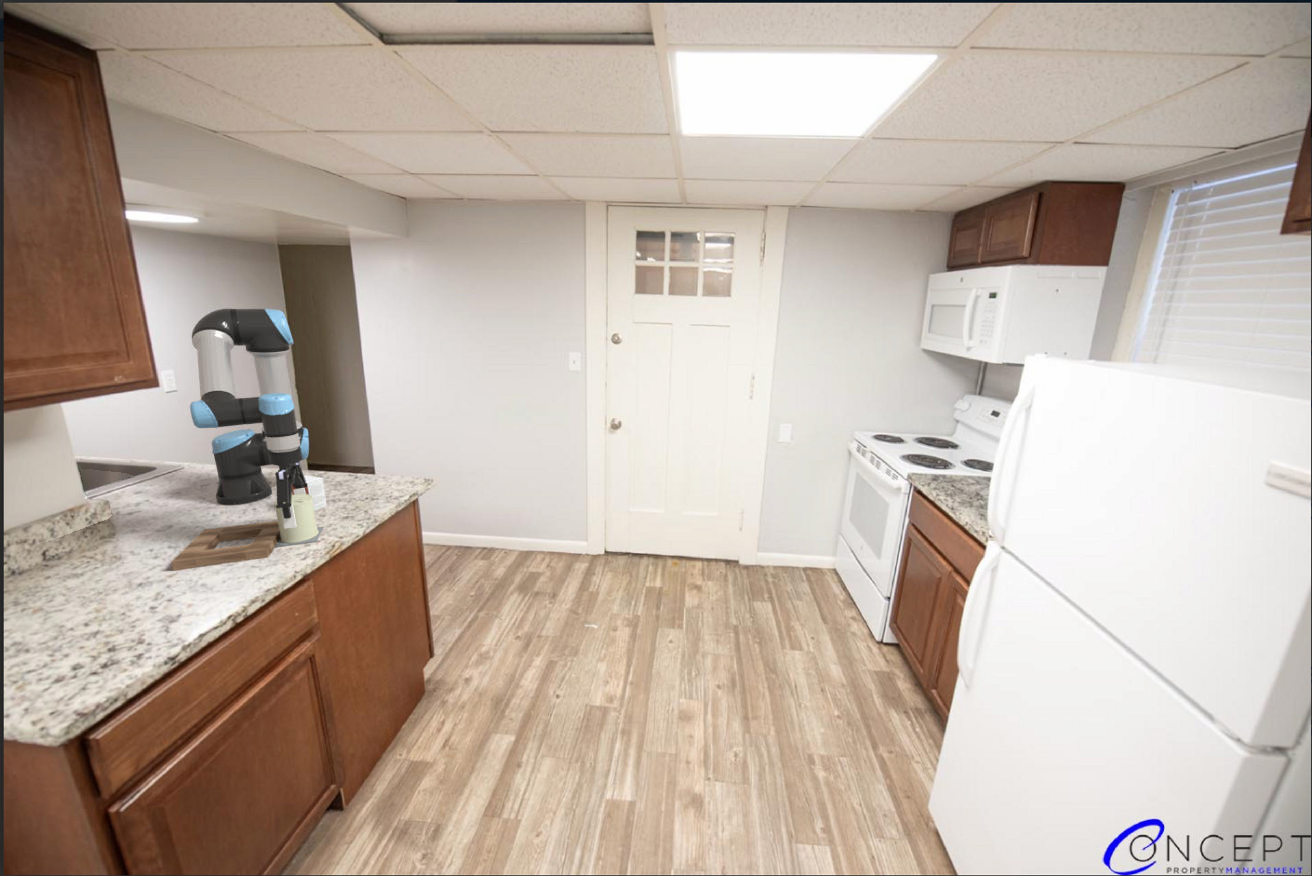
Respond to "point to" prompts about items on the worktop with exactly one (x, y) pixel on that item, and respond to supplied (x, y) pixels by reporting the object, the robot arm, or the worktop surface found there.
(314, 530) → the can
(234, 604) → the worktop surface
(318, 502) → the small box
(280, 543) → the mat
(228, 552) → the housing
